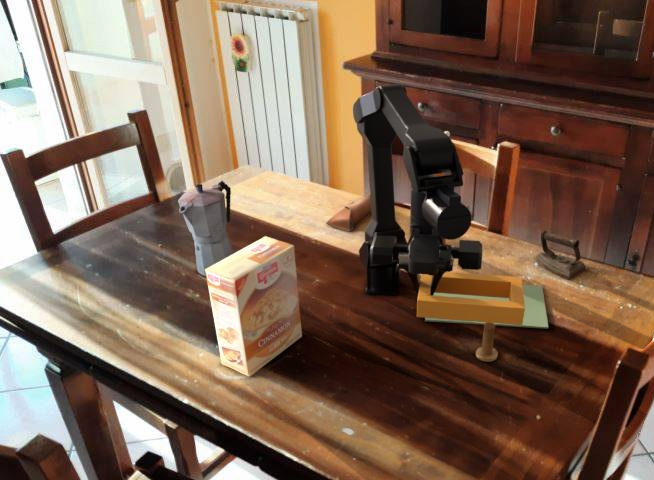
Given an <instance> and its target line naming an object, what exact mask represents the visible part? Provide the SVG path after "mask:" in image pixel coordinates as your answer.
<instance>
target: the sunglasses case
mask: <svg viewBox="0 0 654 480" xmlns="http://www.w3.org/2000/svg"><path fill="white" fill-rule="evenodd" d="M370 215H372V212H371V197H370V194H367V195H364V196H361V197H359V198H357V199H353V200H352V201H349V202H348V203H347V204H345V205H344V207H343V208H341V209H340V210H339V211H337V212H336V213H334V215H332V216H331V217H330V218H329V219H328V220H327V221H326V222H325V223H326V225H328V226H330V227H332V228H335V229H337V230H341V231H345V232H351V231H352V230H353V229H355V228H356V227H357V226H358V225H360V224H361V223H362V222H363V221H364V220H365V219H367V218H368V217H369V216H370Z"/></svg>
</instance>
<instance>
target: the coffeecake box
mask: <svg viewBox="0 0 654 480" xmlns="http://www.w3.org/2000/svg"><path fill="white" fill-rule="evenodd" d="M205 272H206V276H205V277H206V284H207V287H208V288H207V289H208V293H209V299H210V304H211V310H212V316H213V322H214V327H215V334H216V339H217V344H218V350H219V356H220V361H221V365H223V366H225V367H227V368H230V369H232V370H235V371H236V372H238V373H240V374H242V375H245V376H247V377H252V376H253V375H254V374H256V373H257V372H258V371H259V370H260V369H262V368H263V367H264V366H266V365H267V364H268V363H270V362H271V361H272V360H274V359H275V358H276V357H277V356H279V355H280V354H281V353H283V352H284V351H285V350H286V349H288V348H289V347H290V346H292V345H293V344H294V343H295V342H297V341H298V340H300V339H301V338H302V337H303V331H302V320H301V311H300V298H299V286H298V275H297V263H296V254H295V245H293V244H291V243H289V242H285V241H282V240H278V239H276V238H272V237H269V236H267V235H264V236H263V237H261V238H260V239H258V240H256V241H254V242H252V243H251V244H249V245H246V246H245V247H243V248H242V249H240V250H237V251H235V252H234V254H232V255H231V256H229V257H227V258H225V259H223V260H221V261H220V262H218V263H216V264H214V265H212V266H211V267H209V268H207V269H205Z"/></svg>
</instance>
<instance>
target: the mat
mask: <svg viewBox="0 0 654 480" xmlns="http://www.w3.org/2000/svg"><path fill="white" fill-rule="evenodd" d="M522 285H523V295H524V305H525V311H524V318H523V324H522V325H513V324H500V323H494V324H495V327H496V326H498V327H513V328H528V329H529V328H531V329H546V330H548V329H549V321H548V314H547V309H546V302H545V296H544V289H543V285H535V284H522ZM433 296H446V297H459V298H473V299H486V300H499V301H509V298H499V297H486V296H473V295H460V294H446V293H434V295H433ZM424 319H425V320H424V322H429V323H430V322H433V323H448V324H449V323H450V324H451V323H452V324H463V325H478V326H479V325H481V326H484V324H485V323H487V322H475V321H462V320H450V319H437V318H424Z"/></svg>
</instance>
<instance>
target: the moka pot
mask: <svg viewBox="0 0 654 480" xmlns="http://www.w3.org/2000/svg"><path fill="white" fill-rule="evenodd" d="M194 187H195V189H193V190H190V191H187V192H184V193H182V194H181V196H180V197H179V199H178V200H177V203H178V205H179V213H180V214H182V216H183V219H184V221H185V223H186V226H187V228H188V231H189V232H190V233H191V235H192V239H193V241H194V252H195V253H194V254H195V261H196V271H197V273H199V274H200V275H201V276H204V277H206V272H205V269H207V268H209V267H211V266H212V265H214V264H216V263H218V262H220V261H221V260H223V259H225V258H227V257H229V256H231V255H232V254H234V253H235V252H234V249H233V246H232V244H231V242H230V239H229V236H228V233H227V232H228V231H227V225H228V223H229V222H230V221H231V197H232V196H231V194H232V191H231V187H230V186H229V185H228V184H227V183H226V182H224V181H223V180H221V181H220V182H218V184H214V185H212V186H211V187H203V184H202V183H197V184H195V185H194ZM224 190H225V193H224V192H223V191H224Z"/></svg>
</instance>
